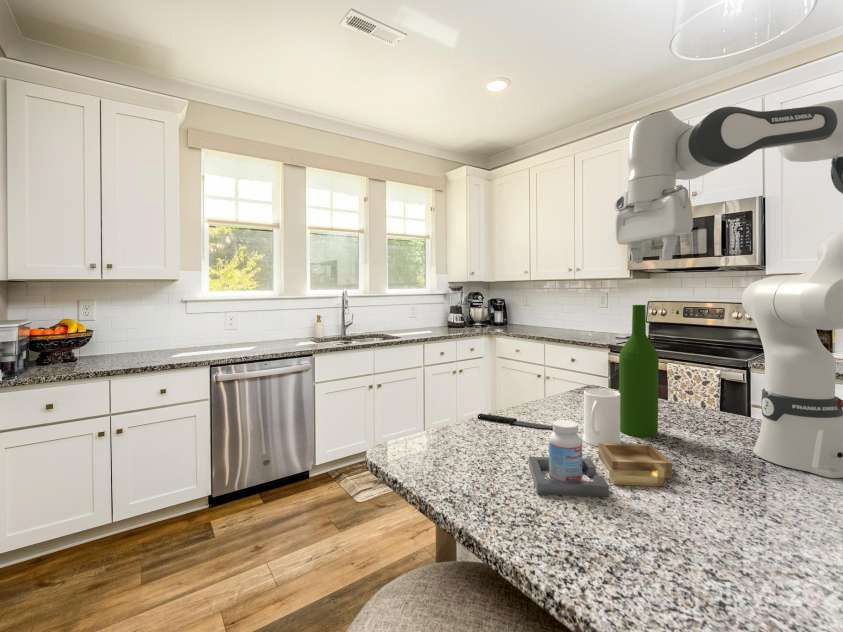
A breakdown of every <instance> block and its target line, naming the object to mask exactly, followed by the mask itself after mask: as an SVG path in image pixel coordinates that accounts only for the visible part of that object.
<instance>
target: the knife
mask: <svg viewBox="0 0 843 632" xmlns="http://www.w3.org/2000/svg"><path fill="white" fill-rule="evenodd" d="M476 416H477V417H478V418H479V419H478V418H477V417H476V419H478V420H481V421H487V422H491V423H492V422H493V423H498V424H500V423H501V424H507V425H509V426H512V425H516V426H523V427H524V426H525V427H530V428H535V429H537V428H538V429H549V430H550V429H552V430H553V425H548V424H541V423H537V422H536V423H534V422H530V421H529V422H527V421H521V420H517V418H513V417H506V416H500V415H493V414H487V415H486V414H485V413H479V414H477V415H476ZM479 416H480V417H479Z"/></svg>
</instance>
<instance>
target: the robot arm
mask: <svg viewBox="0 0 843 632" xmlns="http://www.w3.org/2000/svg"><path fill="white" fill-rule="evenodd" d="M627 145H628V146H627V166H628V170H629V176H628V178H627V189H625V190H624V192H623V194H622V195H621V196H620V197H619V198H618V199H616V201H615V202H614V211H616V212H617V213H616V215H615V238H616V242H617V244H618V245H622V246H623V245H627V250H628V252H629V254H630V257H631V258H630V263H631V264H634V265H636V264H642V263H643V261H644V260H643V259H644V258H643V257H644V256H643V254H641V252H640V248H641V243H645V242H653V241H656V240H662V243H663V246H662V250H661V251H659V252H658V256H659V257H658V260H660V261H664V262H665V261H671V260H673V251H674V249H675V248H676V245H677V242H678V236H683V235H688V234H690V233H691V232H692V230H693V228H694V215H693V206H692V202H691V201H692V200H691V199H690V197H689V189H687V188H686V187H685V186H683V184H680V185H679V184H678V185H676V183H677V181H676V180H683V181H687V180H694V179H697V178H700V177H702V176H705V175H707V174H709V173H711V172H714V171H716V170H718V169H720V168H722V167H725V166H728V165H731V164H735V163H736V162H739V161H741V160H743V159H745V158H746V157H748V156H750V155H751V154H753V153H754V152H756V151H757V150H764V149H770V148H778V151H779V152H780V154H781V155H782V157H784V158H785V159H786V160H788V161H789V162H794V163H795V162H796V163H797V162H798V163H804V162H805V163H807V162H808V163H810V162H819V161H827V160H830V159H831V168H830V178H831V182H832V184H833V187H834V188H835V189H836V190H837V191H838V192H839V193H840V194H842V195H843V99H837V100H831V101H830V100H829V101H825V102H820V103H814V104H812V105H807V106H802V107H793V108H783V109H776V110H766V111H765V110H764V111H763V110H762V111H761V110H759V111H758V110H753V109H748V108H744V107H739V106H723V107H719V108H717V109H714V110H713V111H712V112H710V113H708V115H706V116H705V117H704V118H702V119H701V120H700V121H699V122H698V123H696V124H695V125H691V124H688V123H686V122H684V121H682V120H681V119H679V118H678V117H676V116H675V115H674V113H673V112H672V111H671V110H666V109H665V110H658V111H654V112H651V113H649V114H647V115H645V116H642V117H641V118H640V119H638V120H637V121H636V122H635V123H634V124H633V125H632V126H631V129H630V131H629V136H628V144H627ZM816 255H817V258H818V261H817V263H816V264H815V265H814V266H813V267H812V268H811V269H809V270H807V271H804V272H803V273H800V274H799V273H798V274H781V275H771V276H767V277H764V278H760V279H758V280H755V281H753V282H751V283H750V284H749V285H748V286H746V287H745V288H744V291H743V293H742V296H741V305H742V308H743V310H744V311H745V313H746V315H748V316H749V317H750V318H751V320H752V321H753V323H754V325H755V327H756V329H757V333H758V335H759V338H760V341H761V343H762V345H761V346H762V348H763V355H764V388H763V389H762V390H761V403H760V404H761V414H762V416H761V424H760V430H759V434H758V436H757V437H758V438H757V440H756V443H755V445H754V448H753V449H752V451H753V453H754V454H755V455H756V456H757V457H758V458H761V459H763V460H764V461H768V462H769V463H772V464H775V465H779V466H781V467H782V466H783V467H785V468H791V469H794V470H799V471H804V472H806V473H807V472H808V473H812V474H814V475H818V476H822V477H826V478H830V479H840V478H843V399H842V398H840V397H838V396H836V377H837V375H836V373H837V360H836V357H834V355H833V353H831V351H830V350H829V349H827V348H826V347H825V345H823V343H822V342H821V339H820V337H819V335H818V331H817V330H823V331H835V330H843V223H842V224H841V225H840V226H839V227H838V228H836V229H835V230H834V231H833V232H832V233H830V235H829V236H827V237H826V238H825V239H824V240H823V241H822V242H820V244H819V245H818V248H817V250H816Z"/></svg>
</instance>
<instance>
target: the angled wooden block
mask: <svg viewBox="0 0 843 632" xmlns="http://www.w3.org/2000/svg"><path fill="white" fill-rule="evenodd" d="M608 473H609V474H608V477H609V479H608V480H610V482H611V483H612V485H615V486H617V485H618V486H638V487H639V486H641V487H665V478H664V473H665V470H664V469H663V468H662V467H661V466H660V465H659V464H652V471H641V470H609V471H608Z"/></svg>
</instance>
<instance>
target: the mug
mask: <svg viewBox="0 0 843 632" xmlns="http://www.w3.org/2000/svg"><path fill="white" fill-rule="evenodd" d="M582 441H584V443H586V444H588V445H589V446H590V445H591V446H593V447H598V443H613V444H622V440H621V431H620V393H619V391H616V390H613V389H609V388H608V389H606V388H590V389H589V388H588V389H585V390H584V391H583V436H582Z"/></svg>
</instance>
